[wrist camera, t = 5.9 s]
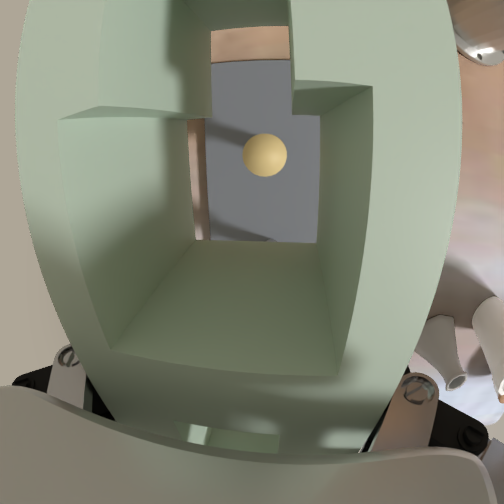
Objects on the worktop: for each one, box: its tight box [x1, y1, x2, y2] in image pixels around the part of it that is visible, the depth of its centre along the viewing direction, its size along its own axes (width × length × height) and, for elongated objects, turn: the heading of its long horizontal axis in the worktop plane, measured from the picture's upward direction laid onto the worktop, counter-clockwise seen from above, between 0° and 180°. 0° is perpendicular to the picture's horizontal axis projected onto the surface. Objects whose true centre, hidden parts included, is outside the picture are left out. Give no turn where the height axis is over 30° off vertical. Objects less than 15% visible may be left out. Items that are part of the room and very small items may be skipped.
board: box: [205, 60, 320, 243], centre depth 24 cm, size 28×13×9 cm, turn 1°
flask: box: [414, 315, 468, 391], centre depth 28 cm, size 7×7×10 cm
